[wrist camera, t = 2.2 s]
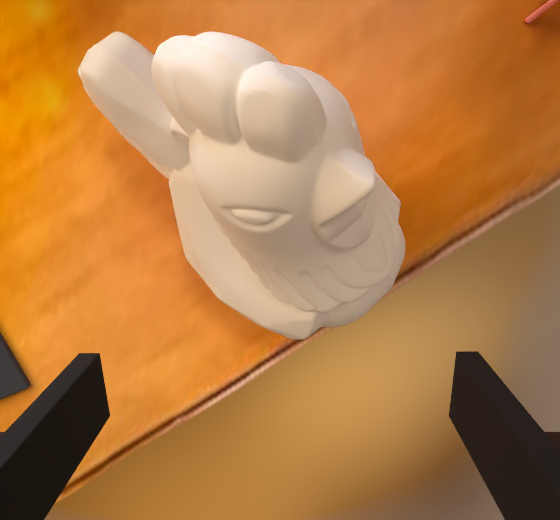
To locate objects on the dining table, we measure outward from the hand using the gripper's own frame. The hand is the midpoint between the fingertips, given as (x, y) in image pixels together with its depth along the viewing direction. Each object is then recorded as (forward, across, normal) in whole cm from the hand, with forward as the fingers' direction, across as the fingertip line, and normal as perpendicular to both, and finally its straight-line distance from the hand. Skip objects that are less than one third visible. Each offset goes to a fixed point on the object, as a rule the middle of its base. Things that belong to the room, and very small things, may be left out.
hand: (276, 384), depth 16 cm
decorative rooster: (+27, -3, +4) cm, 28 cm away
